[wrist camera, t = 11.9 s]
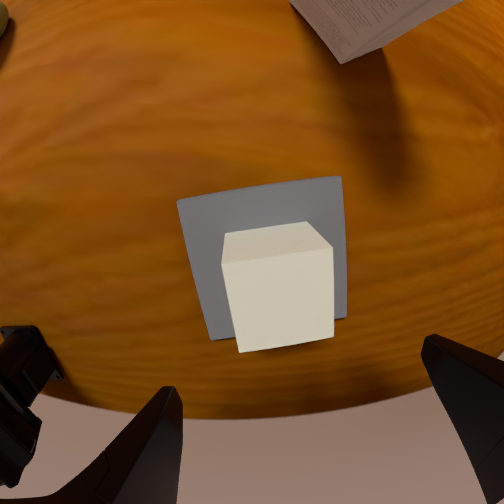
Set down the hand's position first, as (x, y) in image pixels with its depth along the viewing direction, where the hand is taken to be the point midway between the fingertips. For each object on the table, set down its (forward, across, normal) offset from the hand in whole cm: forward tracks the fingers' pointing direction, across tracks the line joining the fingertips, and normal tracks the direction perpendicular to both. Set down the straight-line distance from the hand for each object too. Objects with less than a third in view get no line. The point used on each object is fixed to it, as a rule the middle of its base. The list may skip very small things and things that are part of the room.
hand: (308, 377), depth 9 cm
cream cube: (+10, 0, 0) cm, 10 cm away
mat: (+11, 0, 0) cm, 11 cm away
